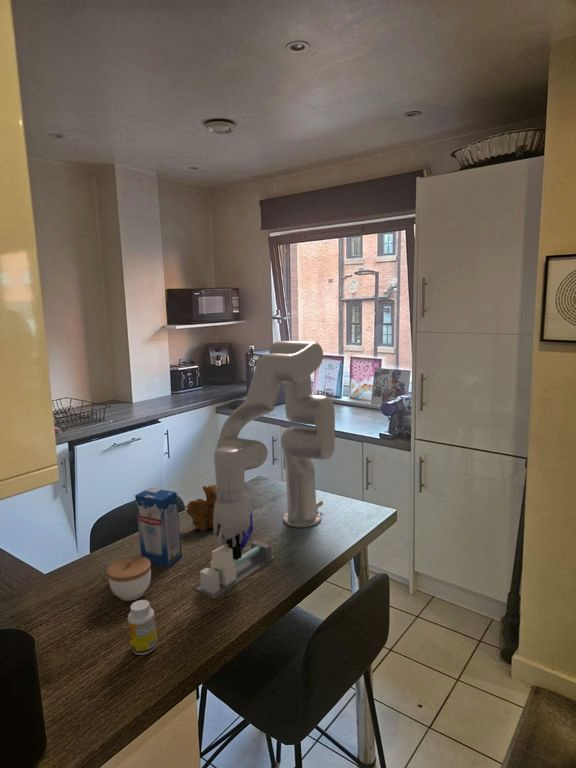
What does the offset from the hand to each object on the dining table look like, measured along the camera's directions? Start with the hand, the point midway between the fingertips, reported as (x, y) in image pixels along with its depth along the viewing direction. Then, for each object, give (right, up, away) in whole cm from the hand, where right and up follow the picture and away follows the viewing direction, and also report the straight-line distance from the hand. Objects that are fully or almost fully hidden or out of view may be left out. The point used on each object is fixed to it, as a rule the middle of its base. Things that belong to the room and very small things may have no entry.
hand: (235, 557), depth 140 cm
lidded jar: (-26, -7, -6) cm, 28 cm away
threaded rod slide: (0, -5, +1) cm, 5 cm away
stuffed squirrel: (-11, 0, +31) cm, 33 cm away
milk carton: (-22, -4, +11) cm, 25 cm away
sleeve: (-3, -5, -3) cm, 6 cm away
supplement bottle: (-17, -11, -27) cm, 34 cm away
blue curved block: (0, -2, +22) cm, 22 cm away
